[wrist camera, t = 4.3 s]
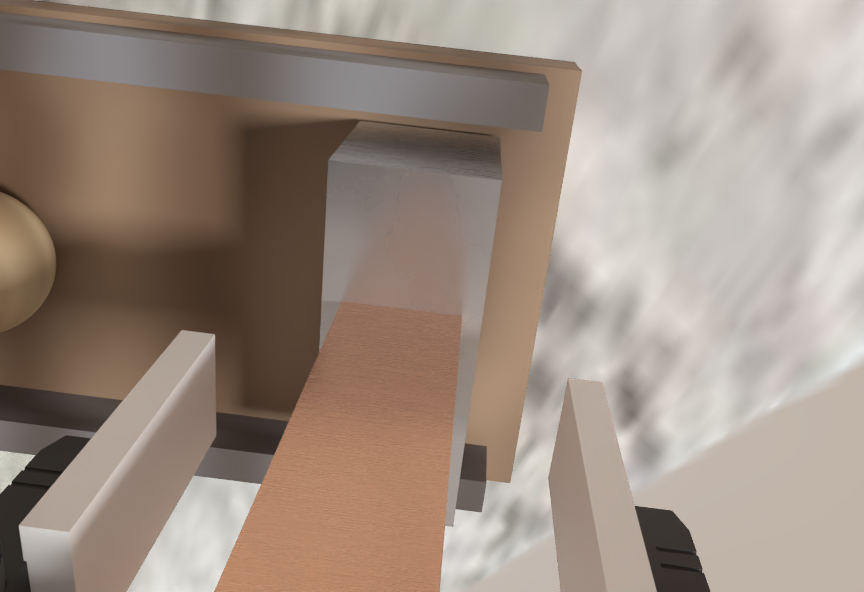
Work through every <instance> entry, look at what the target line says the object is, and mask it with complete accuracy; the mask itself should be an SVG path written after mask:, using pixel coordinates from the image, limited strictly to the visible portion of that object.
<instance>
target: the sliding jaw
mask: <svg viewBox="0 0 864 592" xmlns="http://www.w3.org/2000/svg"><path fill="white" fill-rule="evenodd" d="M501 184H502V169H501V147H500V137H496V136H487V135H479V134H470V133H462V132H453V131H445V130H436V129H427V128H419V127H410V126H402V125H393V124H385V123H376V122H367V121H360V122H359V123H358V124H357V125H356V127H355V128H354V129H353V130H352V131H351V133H350V134H349V135H348V136H347V138H346V139H345V140H344V141H343V143H342V144H341V145H340V146H339V147H338V149H337V150H336V151H335V152H334V154H333V155H332V156H331V157H330V159H329V160H328V178H327V199H326V220H325V240H324V261H323V282H322V303H321V324H320V345H319V354H318V356H317V359H316V361H315V363H314V365H313V368H312V370H311V372H310V375H309V377H308V379H307V381H306V384H305V386H304V388H303V391H302V393H301V395H300V397H299V400H298V402H297V404H296V406H295V409H294V411H293V413H292V416H291V418H290V420H289V422H288V425H287V427H286V429H285V432H284V434H283V436H282V438H281V441H280V443H279V445H278V448H277V450H276V452H275V454H274V457H273V459H272V461H271V463H270V466H269V468H268V470H267V473H266V475H265V477H264V479H263V482H262V484H261V486H260V489H259V491H258V493H257V495H256V498H255V500H254V502H253V505H252V507H251V509H250V511H249V514H248V516H247V518H246V520H245V523H244V525H243V527H242V530H241V532H240V534H239V536H238V539H237V541H236V543H235V546H234V548H233V550H232V552H231V555H230V557H229V559H228V562H227V564H226V566H225V568H224V571H223V573H222V575H221V577H220V580H219V582H218V584H217V587H216V589H215V591H214V592H439V591H440V579H441V566H442V554H443V542H444V530H445V526H452V527H453V522H454V515H455V508H456V501H457V494H458V487H459V480H460V473H461V466H462V459H463V452H464V445H465V438H466V431H467V424H468V417H469V410H470V403H471V396H472V389H473V381H474V374H475V367H476V360H477V353H478V346H479V339H480V332H481V325H482V318H483V311H484V304H485V297H486V290H487V283H488V276H489V269H490V262H491V255H492V248H493V241H494V233H495V226H496V219H497V212H498V205H499V198H500V191H501Z"/></svg>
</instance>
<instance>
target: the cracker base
mask: <svg viewBox="0 0 864 592" xmlns="http://www.w3.org/2000/svg"><path fill="white" fill-rule="evenodd" d="M581 74H582V71H581V69H580V68H579V67H578V66H577V64H576V63H575V62H568V61H559V60H551V59H542V58H533V57H524V56H515V55H507V54H498V53H489V52H480V51H472V50H463V49H454V48H445V47H437V46H428V45H419V44H410V43H401V42H393V41H384V40H375V39H366V38H358V37H349V36H340V35H331V34H323V33H314V32H305V31H296V30H287V29H279V28H270V27H261V26H252V25H244V24H235V23H226V22H217V21H209V20H200V19H191V18H182V17H173V16H165V15H156V14H147V13H138V12H130V11H121V10H112V9H103V8H95V7H86V6H77V5H68V4H60V3H51V2H42V1H33V0H0V451H8V452H16V453H24V454H31V455H37V454H38V453H39V451H40V450H41V449H43V448H45V447H46V446H48V445H50V444H52V443H53V442H55V441H57V440H59V439H60V438H62V437H64V436H66V435H69V436H77V437H84V438H92V437H93V436H94V435H95V433H96V432H97V431H98V430H99V429H100V427H101V426H102V425H103V424H104V423H105V421H106V420H107V419H108V418H109V417H110V416H111V414H112V413H113V412H114V411H115V410H116V408H117V407H118V406H119V405H120V404H121V402H122V401H123V400H124V399H125V398H126V396H127V395H128V394H129V393H130V392H131V390H132V389H133V388H134V387H135V386H136V384H137V383H138V382H139V381H140V380H141V378H142V377H143V376H144V375H145V374H146V372H147V371H148V370H149V369H150V368H151V366H152V365H153V364H154V363H155V362H156V360H157V359H158V358H159V357H160V356H161V354H162V353H163V352H164V351H165V350H166V348H167V347H168V346H169V345H170V344H171V342H172V341H173V340H174V339H175V338H176V336H177V335H178V334H179V333H180V332H181V330H185V331H193V332H201V333H209V334H215V373H216V437H215V439H214V441H213V442H212V444H211V446H210V448H209V449H208V451H207V453H206V455H205V456H204V458H203V460H202V461H201V463H200V465H199V467H198V468H197V470H196V472H195V474H194V475H195V476H203V477H210V478H218V479H226V480H234V481H242V482H249V483H257V484H262V482H263V479H264V477H265V475H266V473H267V470H268V468H269V466H270V463H271V461H272V459H273V457H274V454H275V452H276V450H277V448H278V445H279V443H280V441H281V438H282V436H283V434H284V432H285V429H286V427H287V425H288V422H289V420H290V418H291V416H292V413H293V411H294V409H295V406H296V404H297V402H298V400H299V397H300V395H301V393H302V391H303V388H304V386H305V384H306V381H307V379H308V377H309V375H310V372H311V370H312V368H313V365H314V363H315V361H316V359H317V356H318V354H319V345H320V324H321V303H322V282H323V261H324V240H325V220H326V199H327V178H328V160H329V159H330V157H331V156H332V155H333V154H334V152H335V151H336V150H337V149H338V147H339V146H340V145H341V144H342V143H343V141H344V140H345V139H346V138H347V136H348V135H349V134H350V133H351V131H352V130H353V129H354V128H355V127H356V125H357V124H358V123H359V122H360V121H367V122H376V123H385V124H393V125H402V126H410V127H419V128H427V129H436V130H445V131H453V132H462V133H470V134H479V135H487V136H496V137H500V147H501V169H502V184H501V191H500V198H499V205H498V212H497V219H496V226H495V233H494V241H493V248H492V255H491V262H490V269H489V276H488V283H487V290H486V297H485V304H484V311H483V318H482V325H481V332H480V339H479V346H478V353H477V360H476V367H475V374H474V381H473V389H472V396H471V403H470V410H469V417H468V424H467V431H466V438H465V445H464V452H463V459H462V466H461V473H460V480H459V487H458V494H457V501H456V508H455V509H460V510H467V511H475V512H482V506H483V500H484V494H485V488H486V480H490V481H498V482H506V483H510V480H511V475H512V469H513V463H514V457H515V452H516V446H517V440H518V434H519V429H520V423H521V417H522V412H523V406H524V400H525V394H526V389H527V383H528V377H529V371H530V366H531V360H532V354H533V349H534V343H535V337H536V331H537V326H538V320H539V314H540V308H541V303H542V297H543V291H544V286H545V280H546V274H547V268H548V263H549V257H550V251H551V245H552V240H553V234H554V228H555V223H556V217H557V211H558V205H559V200H560V194H561V188H562V183H563V177H564V171H565V165H566V160H567V154H568V148H569V142H570V137H571V131H572V125H573V120H574V114H575V108H576V102H577V97H578V91H579V85H580V79H581Z"/></svg>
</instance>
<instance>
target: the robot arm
mask: <svg viewBox="0 0 864 592" xmlns="http://www.w3.org/2000/svg"><path fill="white" fill-rule="evenodd" d="M215 437H216V373H215V334H209V333H201V332H193V331H185V330H181V332H180V333H179V334H178V335H177V336H176V338H175V339H174V340H173V341H172V342H171V344H170V345H169V346H168V347H167V348H166V350H165V351H164V352H163V353H162V354H161V356H160V357H159V358H158V359H157V360H156V362H155V363H154V364H153V365H152V366H151V368H150V369H149V370H148V371H147V372H146V374H145V375H144V376H143V377H142V378H141V380H140V381H139V382H138V383H137V384H136V386H135V387H134V388H133V389H132V390H131V392H130V393H129V394H128V395H127V396H126V398H125V399H124V400H123V401H122V402H121V404H120V405H119V406H118V407H117V408H116V410H115V411H114V412H113V413H112V414H111V416H110V417H109V418H108V419H107V420H106V421H105V423H104V424H103V425H102V426H101V427H100V429H99V430H98V431H97V432H96V433H95V435H94V436H93V437H92V438H84V437H77V436H69V435H66V436H64V437H62V438H60V439H59V440H57V441H55V442H53V443H52V444H50V445H48V446H46V447H45V448H43V449H41V450H40V451H39V453H38V454H37V455H36V456H35V457H34V458H33V459H32V460H31V461H30V462H29V463H28V464H27V466H26V467H25V470H24V471H21V472H20V473H19V474H18V475H17V476H16V478H15V479H14V480H13V481H12V484H11V485H8V486H7V487H6V488H5V490H4V491H3V492H2V493H1V494H0V592H126V591H127V590H128V588H129V586H130V584H131V583H132V581H133V579H134V577H135V576H136V574H137V572H138V571H139V569H140V567H141V565H142V564H143V562H144V560H145V558H146V557H147V555H148V553H149V551H150V550H151V548H152V546H153V545H154V543H155V541H156V539H157V538H158V536H159V534H160V532H161V531H162V529H163V527H164V526H165V524H166V522H167V520H168V519H169V517H170V515H171V513H172V512H173V510H174V508H175V506H176V505H177V503H178V501H179V500H180V498H181V496H182V494H183V493H184V491H185V489H186V487H187V486H188V484H189V482H190V480H191V479H192V477H193V475H194V474H195V472H196V470H197V468H198V467H199V465H200V463H201V461H202V460H203V458H204V456H205V455H206V453H207V451H208V449H209V448H210V446H211V444H212V442H213V441H214V439H215ZM548 479H549V488H550V497H551V506H552V515H553V525H554V534H555V543H556V551H557V561H558V571H559V578H560V579H559V580H560V589H561V592H710V589H709V586H708V583H707V581H706V578H705V575H704V573H702V566H701V563H700V560H699V557H698V556H696V549H695V546H694V543H693V540H692V537H691V534H690V532H689V530H688V529H687V527H686V526H685V525H684V524H683V523H682V522H681V521H680V519H679V518H678V517H677V516H676V515H675V514H674V512H672V511H670V510H662V509H655V508H647V507H639V506H634V502H633V498H632V494H631V491H630V487H629V483H628V479H627V475H626V471H625V468H624V464H623V460H622V456H621V452H620V448H619V445H618V441H617V437H616V433H615V429H614V425H613V421H612V418H611V414H610V410H609V406H608V402H607V398H606V395H605V391H604V387H603V383H602V382H596V381H588V380H580V379H572V378H568V382H567V387H566V392H565V397H564V402H563V407H562V412H561V417H560V422H559V427H558V432H557V437H556V442H555V447H554V452H553V457H552V462H551V467H550V472H549V477H548Z"/></svg>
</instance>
